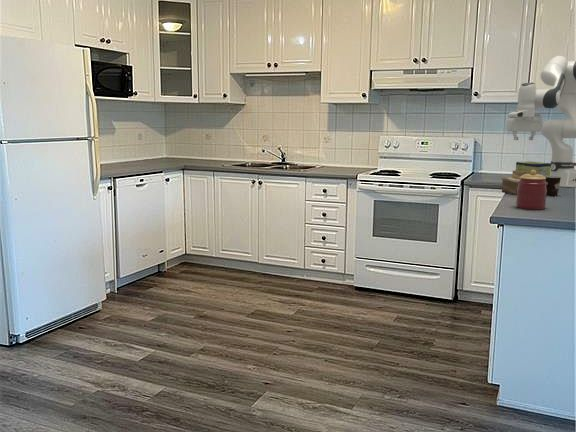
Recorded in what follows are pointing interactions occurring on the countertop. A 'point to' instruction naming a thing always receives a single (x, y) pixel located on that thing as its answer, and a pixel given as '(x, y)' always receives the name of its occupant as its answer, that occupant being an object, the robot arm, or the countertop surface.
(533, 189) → the canister
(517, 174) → the lid
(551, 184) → the coffee mug
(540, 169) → the protein box
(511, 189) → the open wooden box
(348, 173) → the countertop surface
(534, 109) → the robot arm
